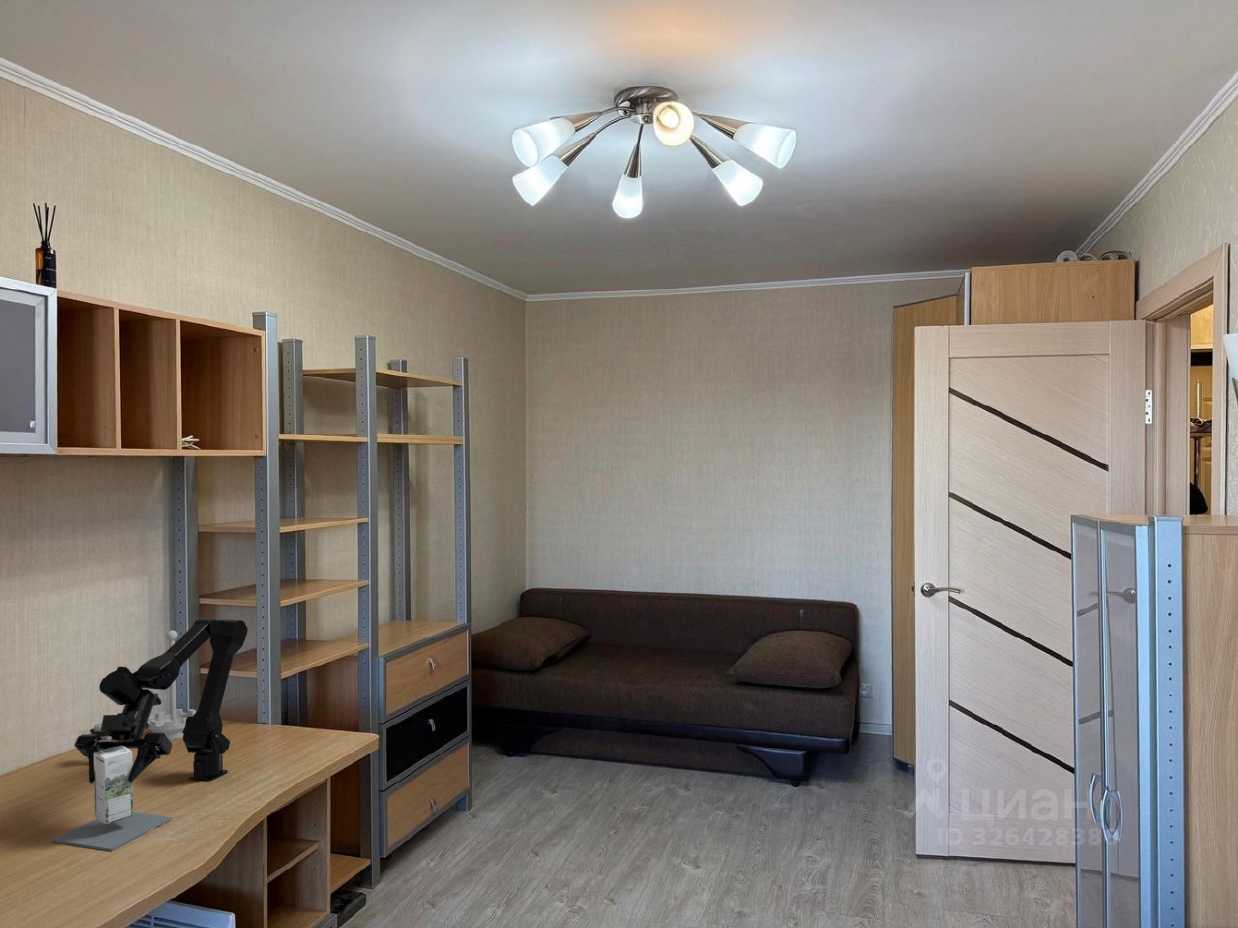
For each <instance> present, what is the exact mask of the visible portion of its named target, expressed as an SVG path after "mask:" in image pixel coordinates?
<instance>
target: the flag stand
mask: <svg viewBox="0 0 1238 928" xmlns="http://www.w3.org/2000/svg"><path fill="white" fill-rule="evenodd" d="M165 635H166V636H165V637H166V639H167V640H168V649H169V648H170V647H171V646H172V645H173V644H175V643H176V642H177V641H178V640H176V639H177V638H178V632H177V631H176V630H172V629H171V630H169V631H167V633H166V634H165ZM176 681H177V678H176V679H175V681H174V682H173V684H172V685H171V686H170V687H169V707H170V708H169V709H170V710H169V711H170V713H167V714H166V712H165V711H160V712H156V713H154V715H155V716H154V715H150V716H149V719H148V724H149V728H148V730H150V731H151V733H162V732H164V734H165V735H166V736H167V738H168V739H171V740H176V739H175V738H178V739H182V738H183V734H184V733H182V731H183V730H184V727H185V722H186V719H187V717H188V716H193V715H194V714H195V713H196V712H197V710H196V709H193V708H191V709H187V712H183V708H177V689H176V688H177V687H176V686H177V684H176ZM181 737H182V738H181Z"/></svg>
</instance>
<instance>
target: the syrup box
mask: <svg viewBox="0 0 1238 928" xmlns="http://www.w3.org/2000/svg"><path fill="white" fill-rule="evenodd" d="M133 764H134V762H133V751H131V749H128V748H126V747H124V746H118V747H114V748H110V749H107V750H103V751H99V752H95V753H94V782H93V783H94V785H93V786H94V787H93V788H94V817H95V819H98V820H100V821H101V822H103V823H104V824H109V823H112V822H115V821H119V820H122V819H125V818H128V817H131V816H133V812H134V781H133V782H132V783H130V782H129V781H128V779H129V775H130V772H131V769H132V767H133Z"/></svg>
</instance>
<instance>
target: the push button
mask: <svg viewBox="0 0 1238 928" xmlns="http://www.w3.org/2000/svg"><path fill="white" fill-rule="evenodd" d="M101 725H102V722H101V723H97V724H94V726H93V728H91V729H89V733H90V734H98V735H99V736H100V737H101V738H102V740H111V737H109V736H108V735H107V732H108V731H105V730H103V731H101ZM106 750H107V749H106ZM85 760H87V761H84V762H85V763H89V760H88V757H85Z"/></svg>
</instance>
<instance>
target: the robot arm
mask: <svg viewBox="0 0 1238 928" xmlns="http://www.w3.org/2000/svg"><path fill="white" fill-rule="evenodd" d="M248 630H249V629H248V626H247V625H246V623H245V621H243V620H241V619H226V618H225V619H223V618H220V619H214V618H204V617H203V618H202V617H201V618H199V619H196V621H194V624H193V625H192V626H191V627H190V628H189V629H188V630H187V631H186V632H184V634H182V636H181V637H179V638H178V640H176V641H177V642H176V643H175V644H173V645H172V646H171V647H170V648H169V647H168V649H167V650H166V651H165V652H163V653H162V654H160V655H157V656H155V657H153V658H151V659H149V660H148V661H146V662H145V663H143V664H142V665H140V666H139V668H138V669H137V670H136V671H134V672H131V670H130V669H129V668H128V667H127V666H118V667H117V668H116V670H114V671H112V672H110V673H108V674H107V675H106V676H104V677H103V678H102V679H101V681H100V683H99V687H98V688H99V692H101V693H102V694H103V695H104V696H105V697H107V698H109V699H110V700H111V702H114V703H115V704H116V705H118V706H123V709H122V711H121V713H119V712H118V713H116V714H104V715H103V716H102V721H101V723H102V725H101V731H103V730H105V731H108V732H107V735H108V736H109V737H110V740H102V738H101V737H100V736H99V735H98V734H91V733H90V734H89V733H87V734H86V733H85V734H83V733H82V734H80V735H79V736H78V737H77V738H76V740H75V743H74V745H73V746H74V747H75V749H77V750H78V752H80V754H82V756H83V757H85V758H88V759H87V761H89V762H88V782H89V784H91V785H92V784H93V783H94V753H95V752H99V751H103V750H106V749H110V748H114V747H118V746H124V747H126V748H128V749H129V750H133V749H137V750H136V751H137V753H136V757H135V758H134V759H135V760H134V762H133V767H132V769H131V772H130V775H129V779H128V781H129V782H130V783H132V782H133V783H134V781H135V780H136V778H138V777H139V775H141V773H143V771H144V770H145V769H146V768H148V766H150V765H151V764H152V763H153V762H154V761H155V760H158V759H161V757H162V756H169V755H170V754H171V751H172V748H173V743H172V742H171V740H169V739H168V738H167V736H166V735H165V734H164V732H162V733H152V732H147V733H146V734H145V735H144V732H145V730H149V724H148V719H149V717H150V716H151V713H152V710H153V707H155V706H160V705H162V699H161V698H160V696H159V694H158V693H157V692H156V693H154V692H153V691H151V690H160V691H165V690H168V689H170V686H171V685H172V684H173V682H174V681H175V679H176V680H177V678H178V677H179V676H180V670H181V668H182V666H183V665H184V663H186V662H187V661H188V659H190V658H191V656H193V655H194V654H195V653H196V652H197V651H198V650H199V649H200V648H201V647H202V646H203V645H204V644H205V643H206V642H207V641H209V644H210V647H211V651H212V655H211V660H210V662H209V667H208V671H207V674H206V678H205V682H204V685H203V690H202V693H201V698H200V700H199V701H200V702H199V706H198V709H197V710H196V713H195V714H194V715H193V716H188V717H187V719H186V722H185V727H184V730H183V731H182V733H184V734H183V737H182V741H183V742H184V745H185V748H186V750H187V753H191V754H193V762H192V763H193V768H192V769H193V774H192V775H190V776H189V780H190V779H191V780H197V781H205V780H206V781H207V782H211V781H213V780H215V779H217V778H219V777H222V776H224V775H225V774H227V773H228V772H229V770H227V769H223V768H224V766H223V765H224V763H223V759H224V758H223V754H225V753H226V751H228V750H229V748H230V744H231V740H230V739H228V737H226V736H225V735H224V733H222V732H223V725H224V724H223V722H222V719H221V715H220V710H221V707H222V704H223V700H224V699H223V698H224V694H225V691H226V687H227V683H228V679H229V675H230V672H231V668H232V663H233V661H234V660H233V658H234V657H235V655H236V654H237V653H238V652H239V650H240V649H241V648H242V647H243V646H244V643H245V641H246V638H247V635H248ZM143 735H144V737H143ZM142 737H143V738H142Z"/></svg>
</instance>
